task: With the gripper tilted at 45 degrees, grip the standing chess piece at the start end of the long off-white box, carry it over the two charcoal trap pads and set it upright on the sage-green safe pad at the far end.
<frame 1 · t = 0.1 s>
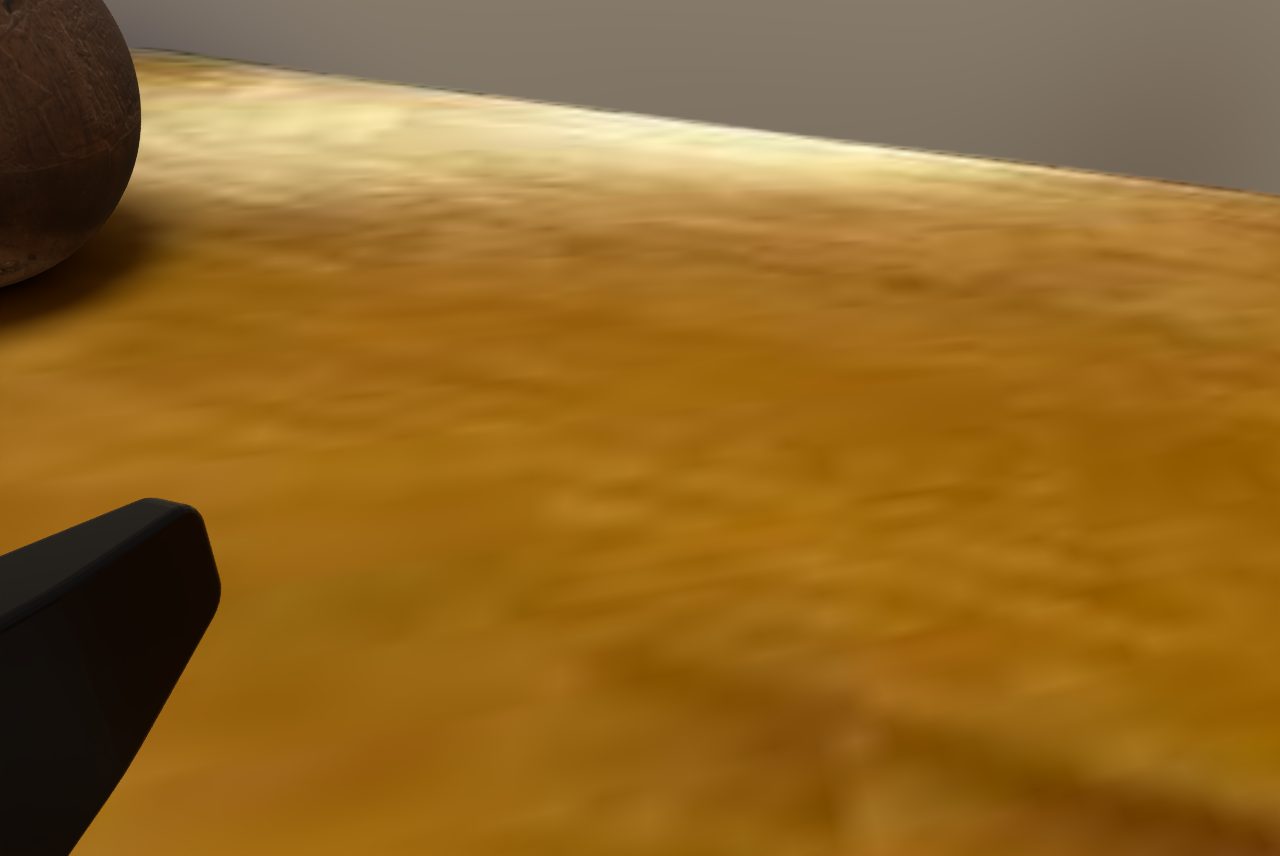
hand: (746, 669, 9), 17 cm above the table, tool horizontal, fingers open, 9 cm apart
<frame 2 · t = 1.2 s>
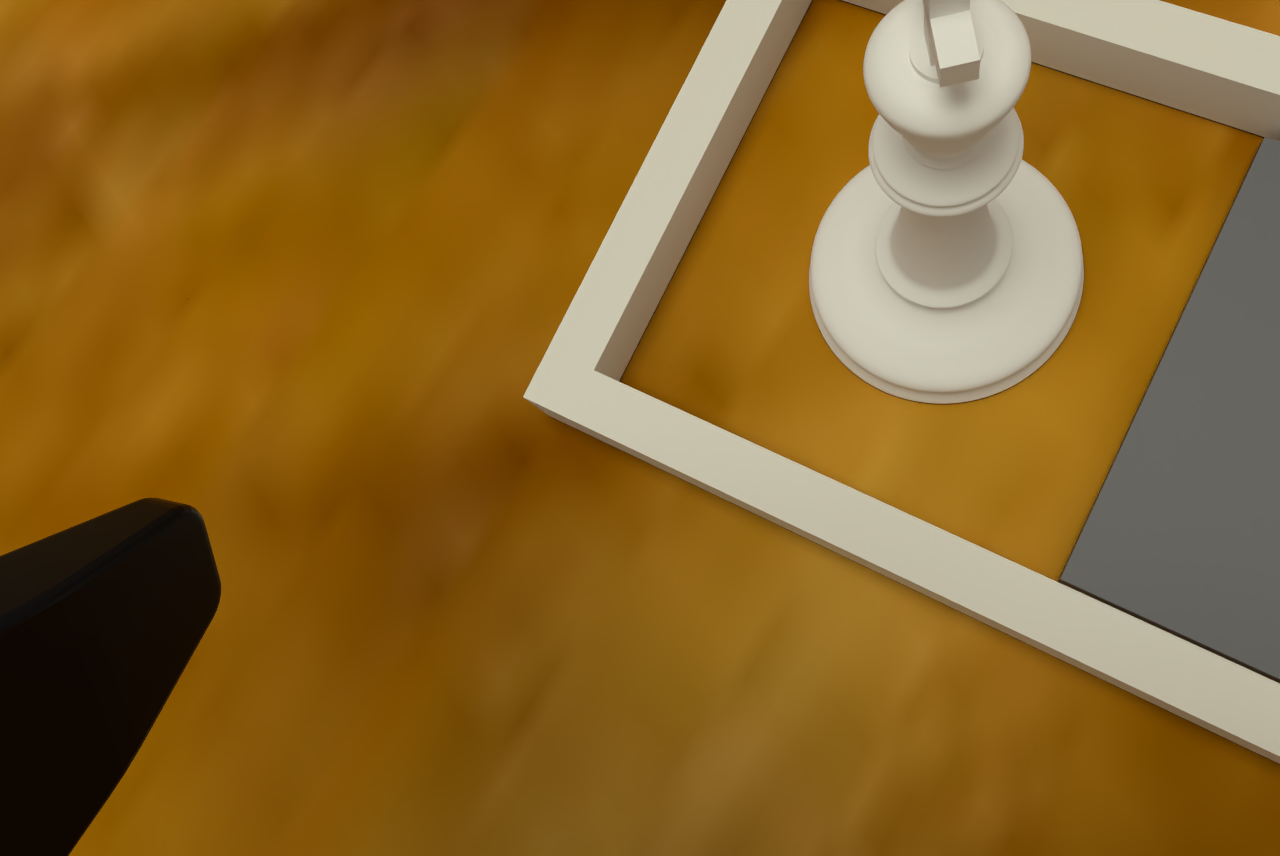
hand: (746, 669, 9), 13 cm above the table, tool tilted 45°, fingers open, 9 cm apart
chess piece: (942, 278, 23), on the table
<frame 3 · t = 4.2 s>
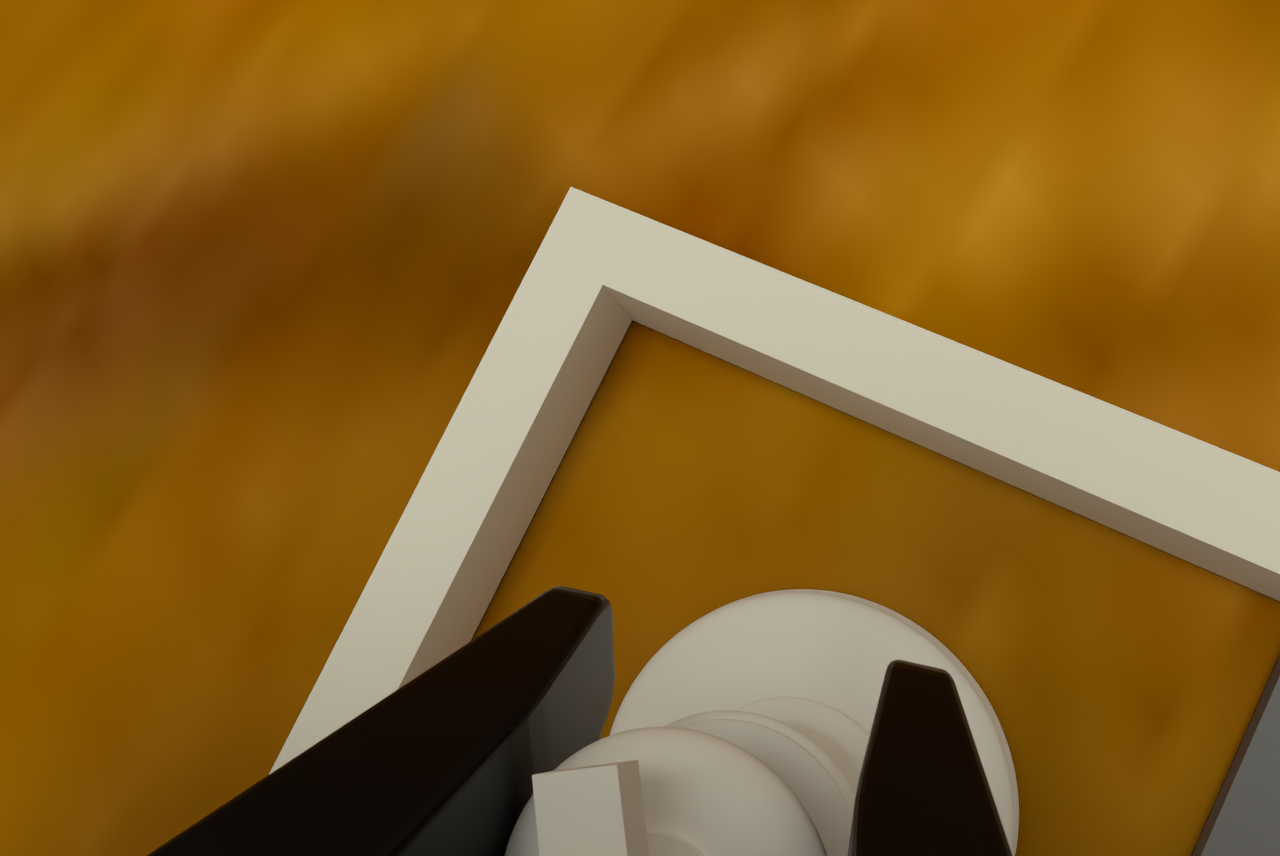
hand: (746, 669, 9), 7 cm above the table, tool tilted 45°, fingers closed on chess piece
chess piece: (806, 793, 15), on the table, touching gripper
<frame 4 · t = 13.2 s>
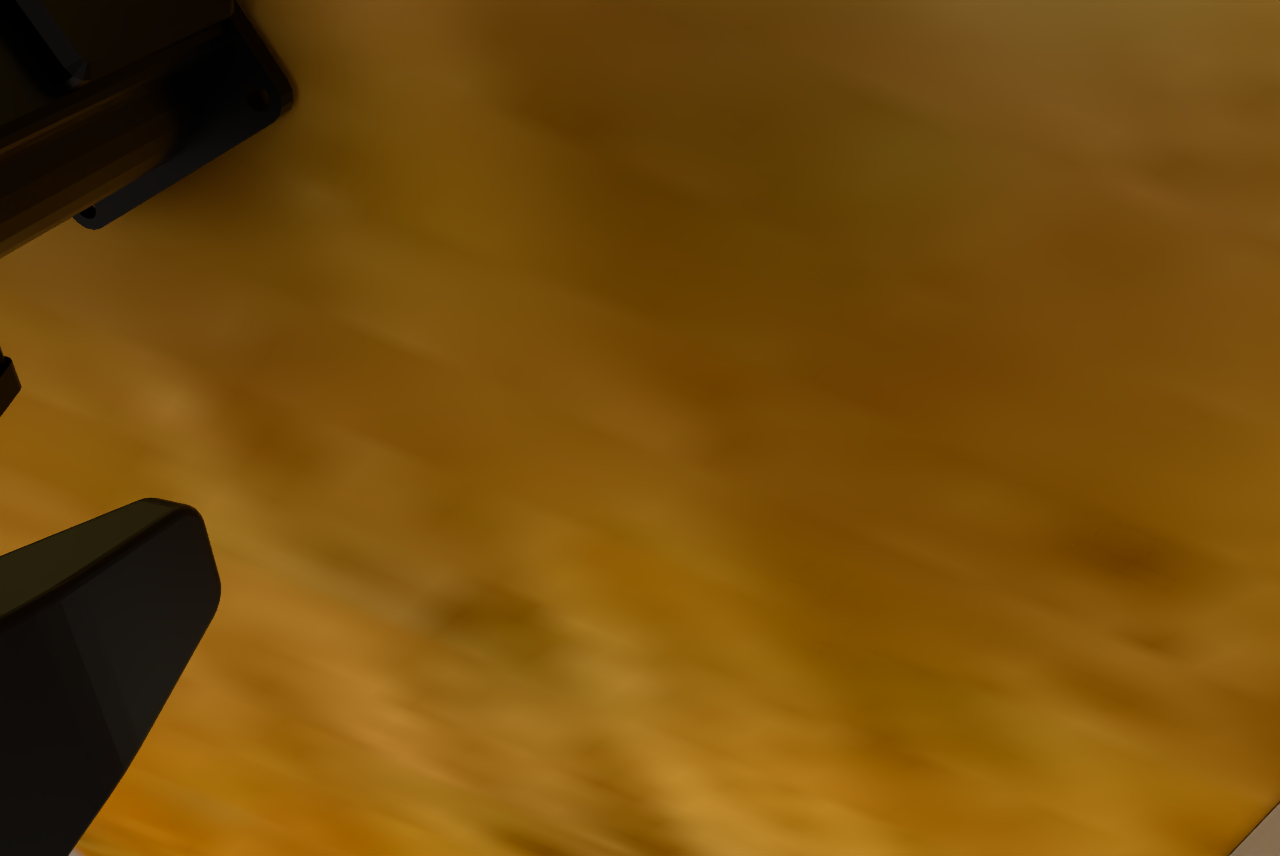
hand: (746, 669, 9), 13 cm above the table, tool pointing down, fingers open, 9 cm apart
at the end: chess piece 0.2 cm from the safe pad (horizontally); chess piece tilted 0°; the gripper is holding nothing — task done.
